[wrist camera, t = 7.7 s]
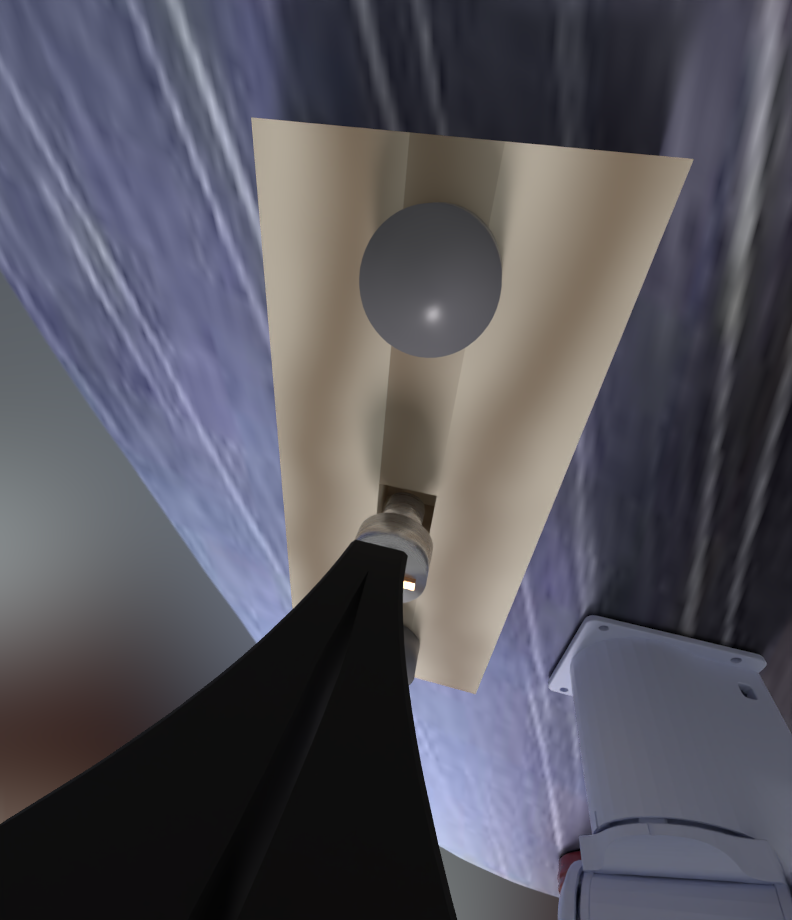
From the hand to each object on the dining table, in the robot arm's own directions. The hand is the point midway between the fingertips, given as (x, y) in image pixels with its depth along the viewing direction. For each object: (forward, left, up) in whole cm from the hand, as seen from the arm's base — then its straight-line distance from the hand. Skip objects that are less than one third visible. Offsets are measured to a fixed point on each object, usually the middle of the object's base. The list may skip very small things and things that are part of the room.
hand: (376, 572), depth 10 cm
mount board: (0, +4, -10) cm, 11 cm away
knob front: (0, -6, -9) cm, 11 cm away
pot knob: (0, +4, -7) cm, 8 cm away
